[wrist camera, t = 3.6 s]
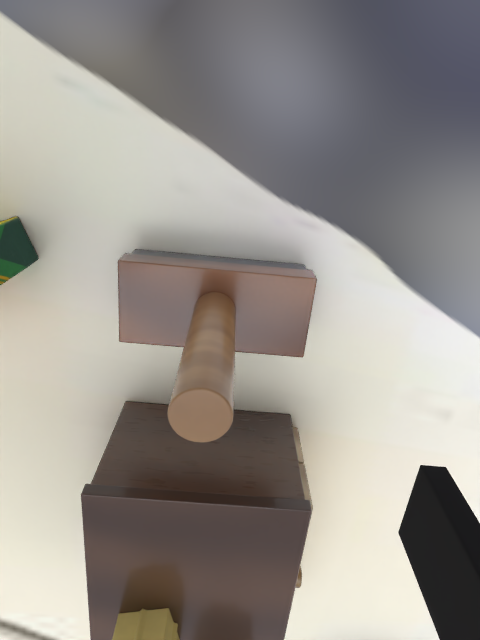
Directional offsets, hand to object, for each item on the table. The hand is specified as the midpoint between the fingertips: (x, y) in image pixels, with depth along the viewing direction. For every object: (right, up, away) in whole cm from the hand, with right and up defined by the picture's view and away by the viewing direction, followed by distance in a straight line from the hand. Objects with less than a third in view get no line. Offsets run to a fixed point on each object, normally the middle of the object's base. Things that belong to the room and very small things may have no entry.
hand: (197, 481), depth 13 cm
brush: (0, +7, +15) cm, 17 cm away
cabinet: (-2, -10, +22) cm, 24 cm away
